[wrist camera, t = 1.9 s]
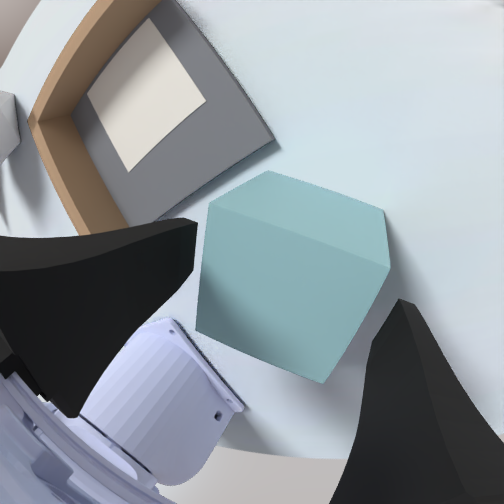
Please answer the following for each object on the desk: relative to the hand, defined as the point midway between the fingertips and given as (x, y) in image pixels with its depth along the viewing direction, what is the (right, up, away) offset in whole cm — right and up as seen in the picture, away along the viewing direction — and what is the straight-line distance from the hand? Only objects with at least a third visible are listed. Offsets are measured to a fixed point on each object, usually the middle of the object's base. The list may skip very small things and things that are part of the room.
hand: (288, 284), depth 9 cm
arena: (-7, +8, +3) cm, 11 cm away
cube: (+1, +2, +3) cm, 4 cm away
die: (-24, +14, +9) cm, 29 cm away
